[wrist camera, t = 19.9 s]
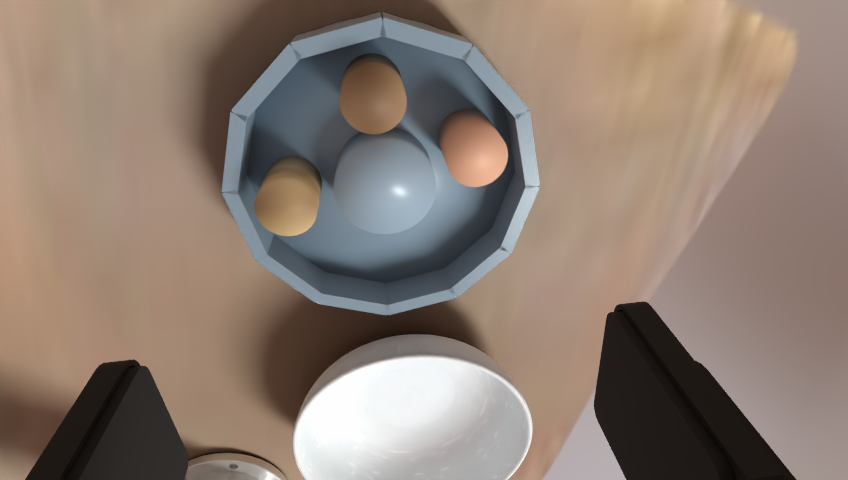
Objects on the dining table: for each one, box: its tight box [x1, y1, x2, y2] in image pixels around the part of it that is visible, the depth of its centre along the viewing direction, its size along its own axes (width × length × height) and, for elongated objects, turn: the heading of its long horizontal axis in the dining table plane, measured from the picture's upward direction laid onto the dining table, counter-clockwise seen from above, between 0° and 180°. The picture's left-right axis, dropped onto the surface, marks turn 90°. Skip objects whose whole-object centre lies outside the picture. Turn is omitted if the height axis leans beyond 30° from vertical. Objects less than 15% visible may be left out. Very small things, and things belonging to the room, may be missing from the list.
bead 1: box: [254, 156, 322, 236], centre depth 35 cm, size 4×4×4 cm
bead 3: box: [438, 109, 508, 187], centre depth 35 cm, size 4×4×4 cm
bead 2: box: [339, 53, 407, 134], centre depth 32 cm, size 4×4×4 cm
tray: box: [222, 12, 540, 315], centre depth 37 cm, size 21×21×4 cm
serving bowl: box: [292, 334, 532, 480], centre depth 47 cm, size 21×21×7 cm
